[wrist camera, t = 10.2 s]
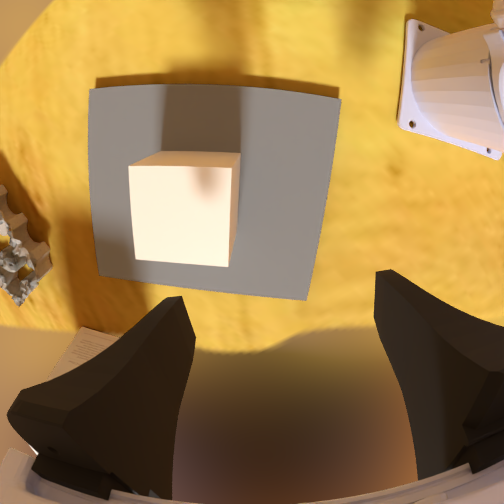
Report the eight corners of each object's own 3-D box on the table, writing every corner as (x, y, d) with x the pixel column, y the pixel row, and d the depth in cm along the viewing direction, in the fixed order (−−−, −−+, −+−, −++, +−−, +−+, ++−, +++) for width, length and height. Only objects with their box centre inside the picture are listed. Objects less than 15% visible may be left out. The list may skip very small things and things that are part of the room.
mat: (338, 99, 17) (341, 99, 16) (305, 294, 23) (306, 300, 23) (95, 89, 17) (89, 89, 16) (103, 270, 23) (99, 275, 23)
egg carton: (-25, 215, 22) (-52, 230, 18) (1, 167, 20) (-30, 180, 16) (30, 296, 25) (8, 318, 22) (64, 261, 23) (38, 285, 20)
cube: (240, 153, 18) (231, 168, 14) (237, 229, 20) (228, 266, 16) (160, 150, 18) (128, 165, 14) (163, 225, 20) (135, 259, 16)
